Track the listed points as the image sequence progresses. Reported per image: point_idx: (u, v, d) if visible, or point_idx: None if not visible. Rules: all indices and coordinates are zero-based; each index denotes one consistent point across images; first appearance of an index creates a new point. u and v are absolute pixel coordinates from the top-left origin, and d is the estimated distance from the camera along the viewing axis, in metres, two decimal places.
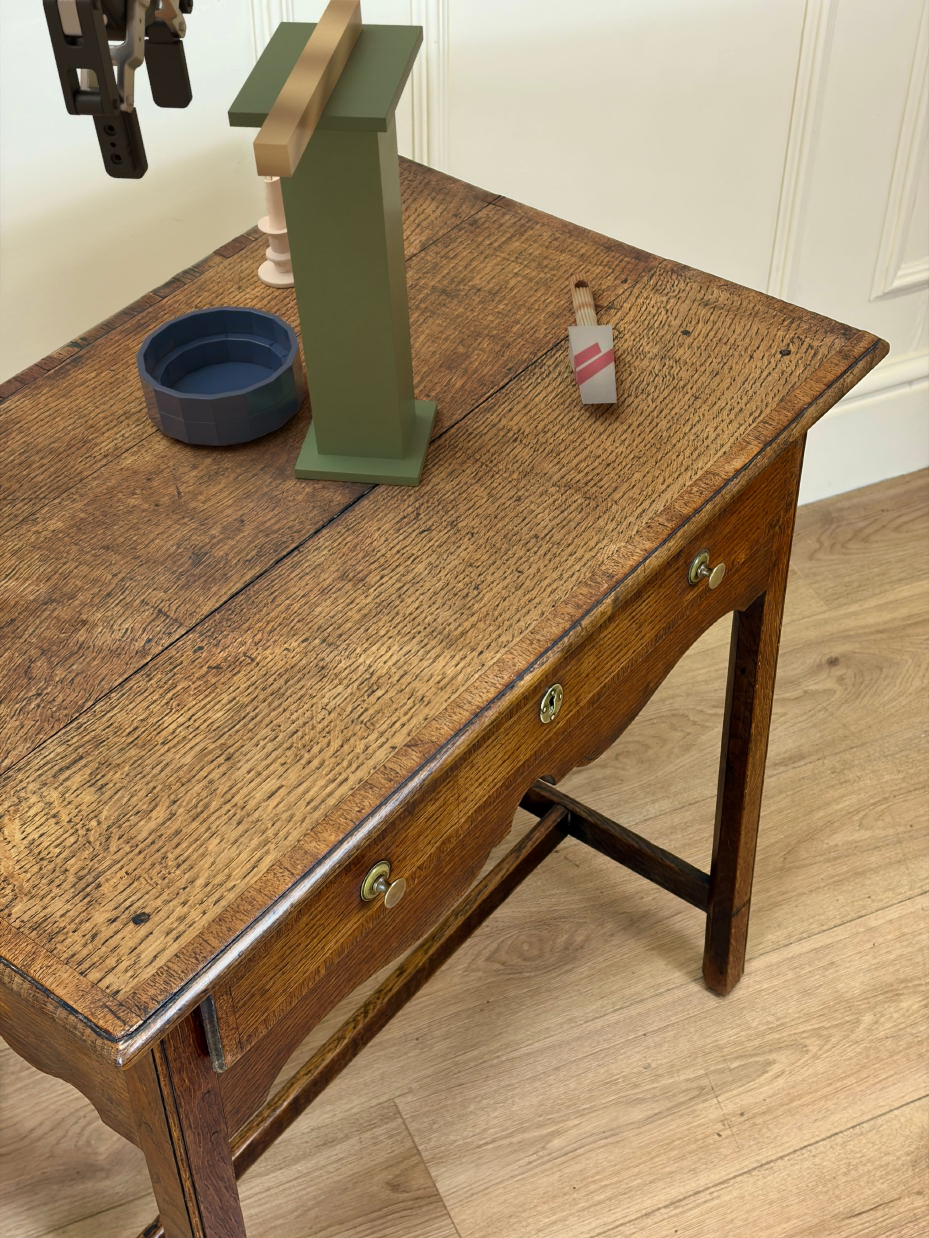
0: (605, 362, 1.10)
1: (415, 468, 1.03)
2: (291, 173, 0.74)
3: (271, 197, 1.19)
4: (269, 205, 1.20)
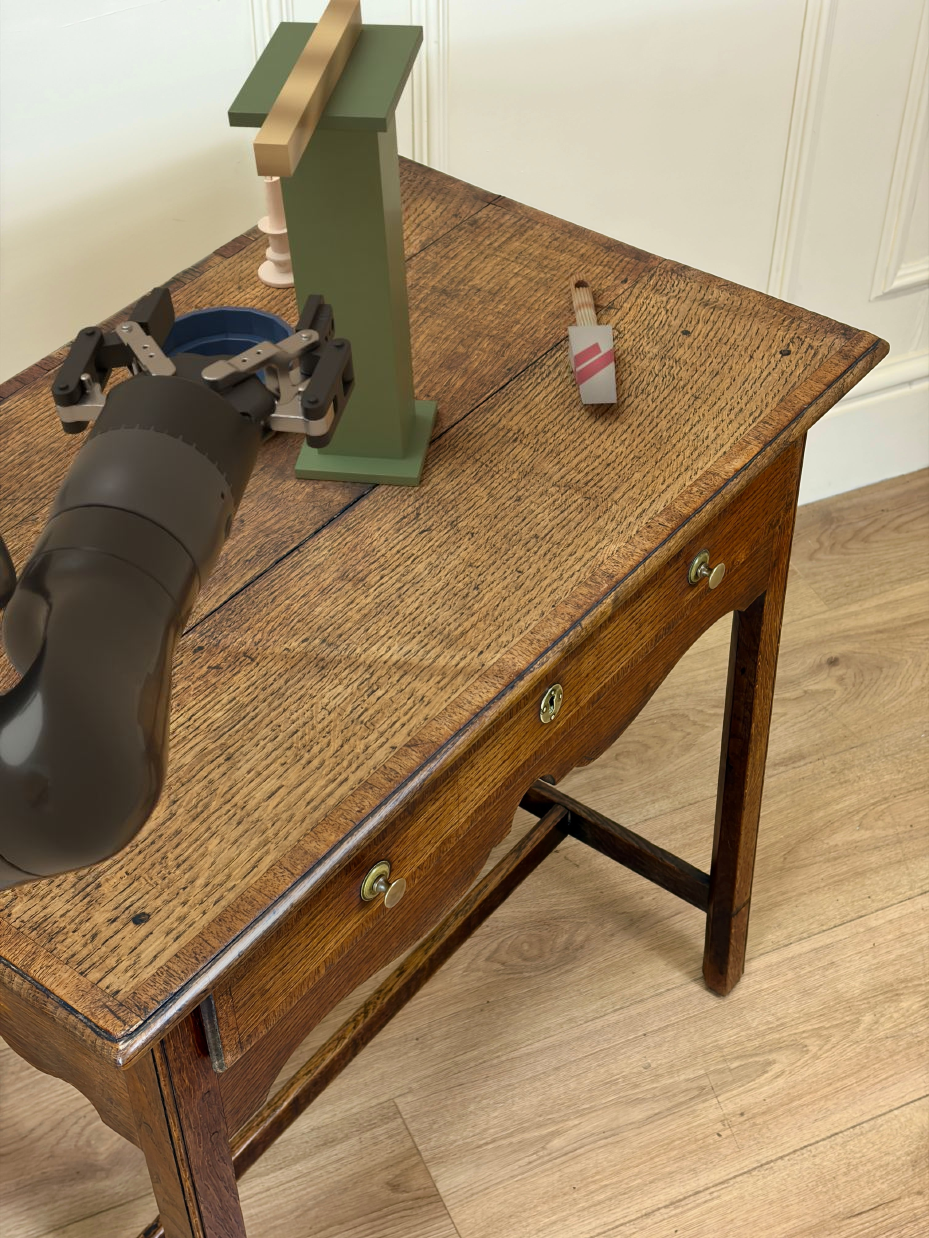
0: (605, 362, 1.10)
1: (415, 468, 1.03)
2: (291, 173, 0.74)
3: (271, 197, 1.19)
4: (269, 205, 1.20)
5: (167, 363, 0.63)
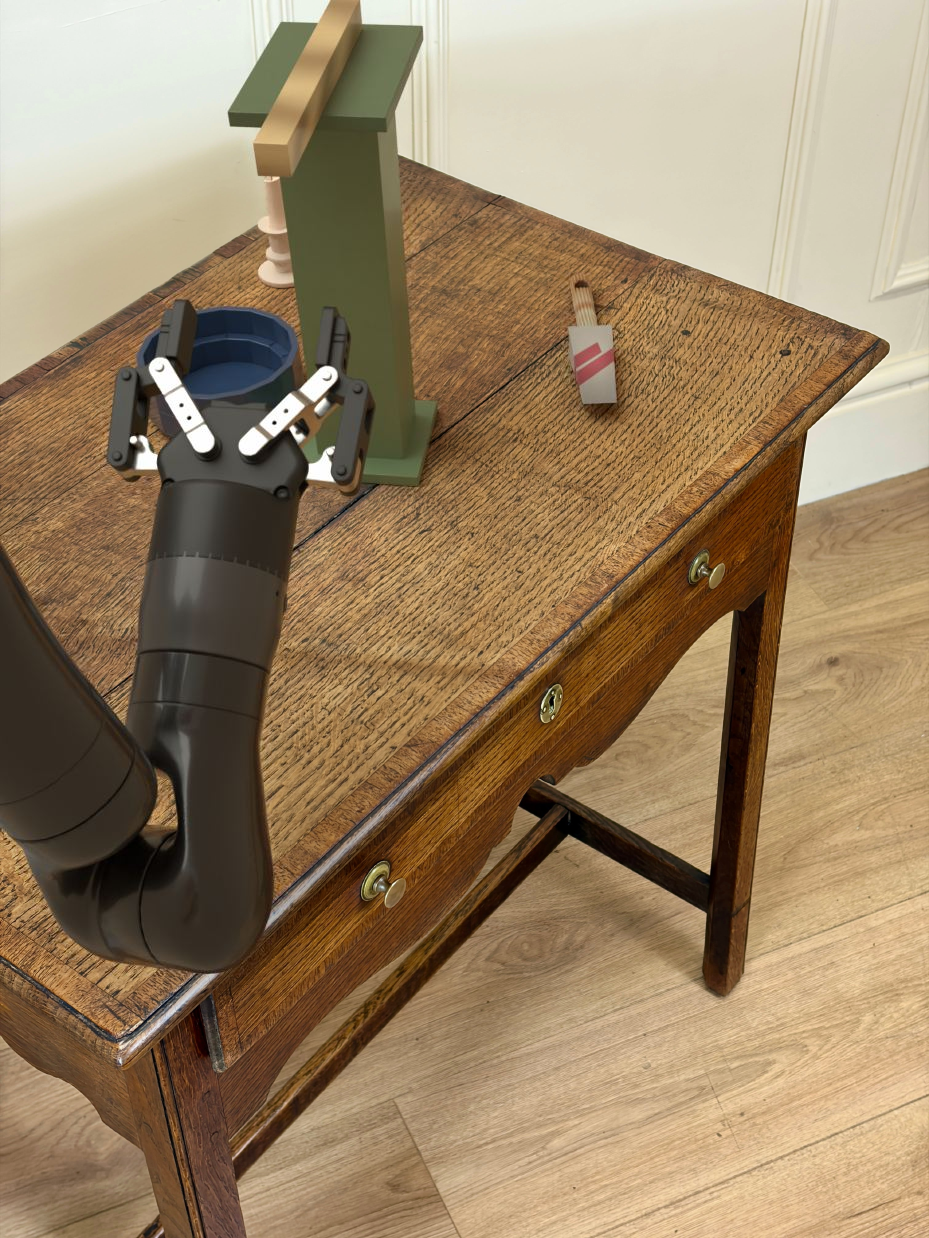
0: (605, 362, 1.10)
1: (415, 468, 1.03)
2: (291, 173, 0.74)
3: (271, 197, 1.19)
4: (269, 205, 1.20)
5: (206, 433, 0.70)
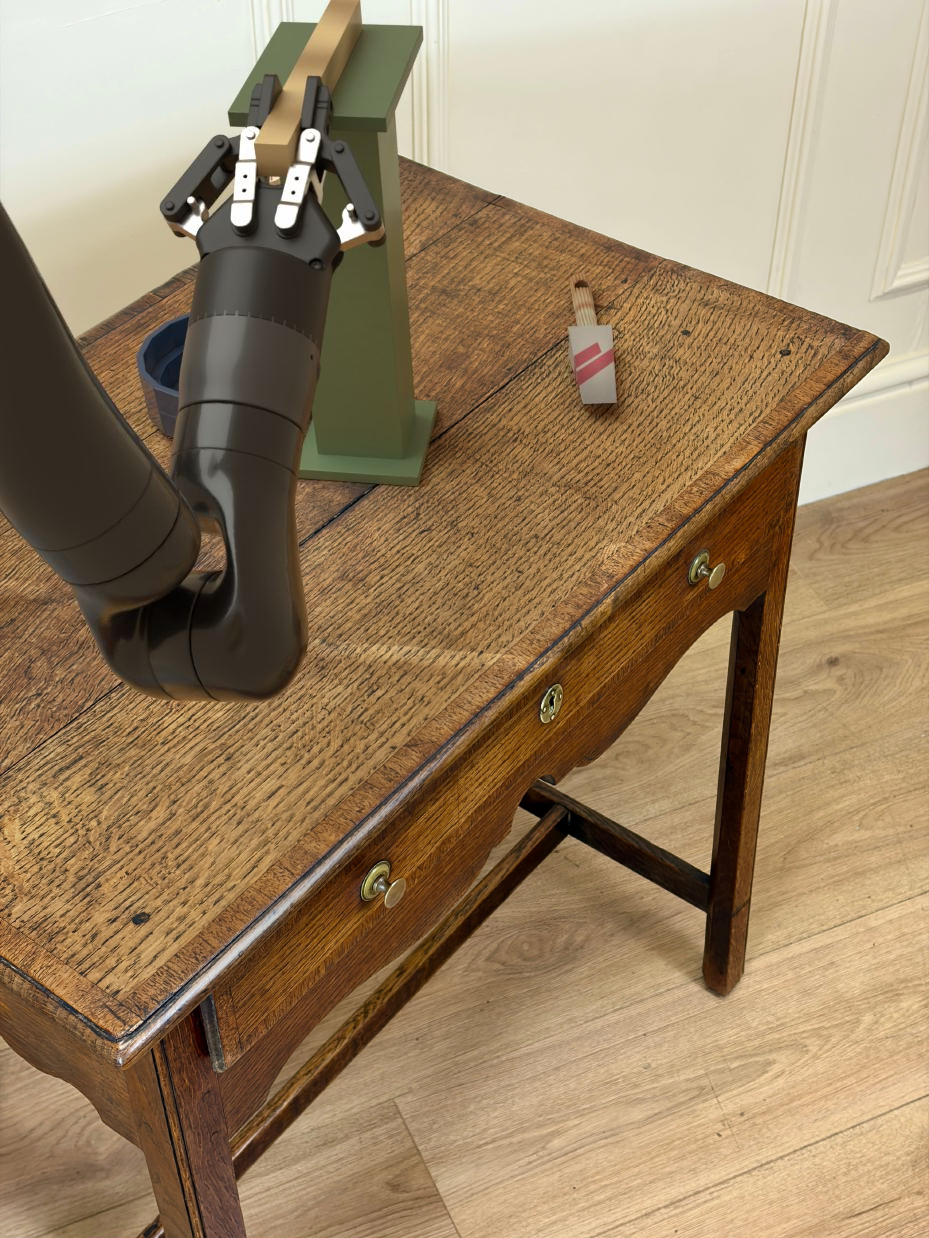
0: (605, 362, 1.10)
1: (415, 468, 1.03)
2: None
3: None
4: None
5: (248, 210, 0.73)
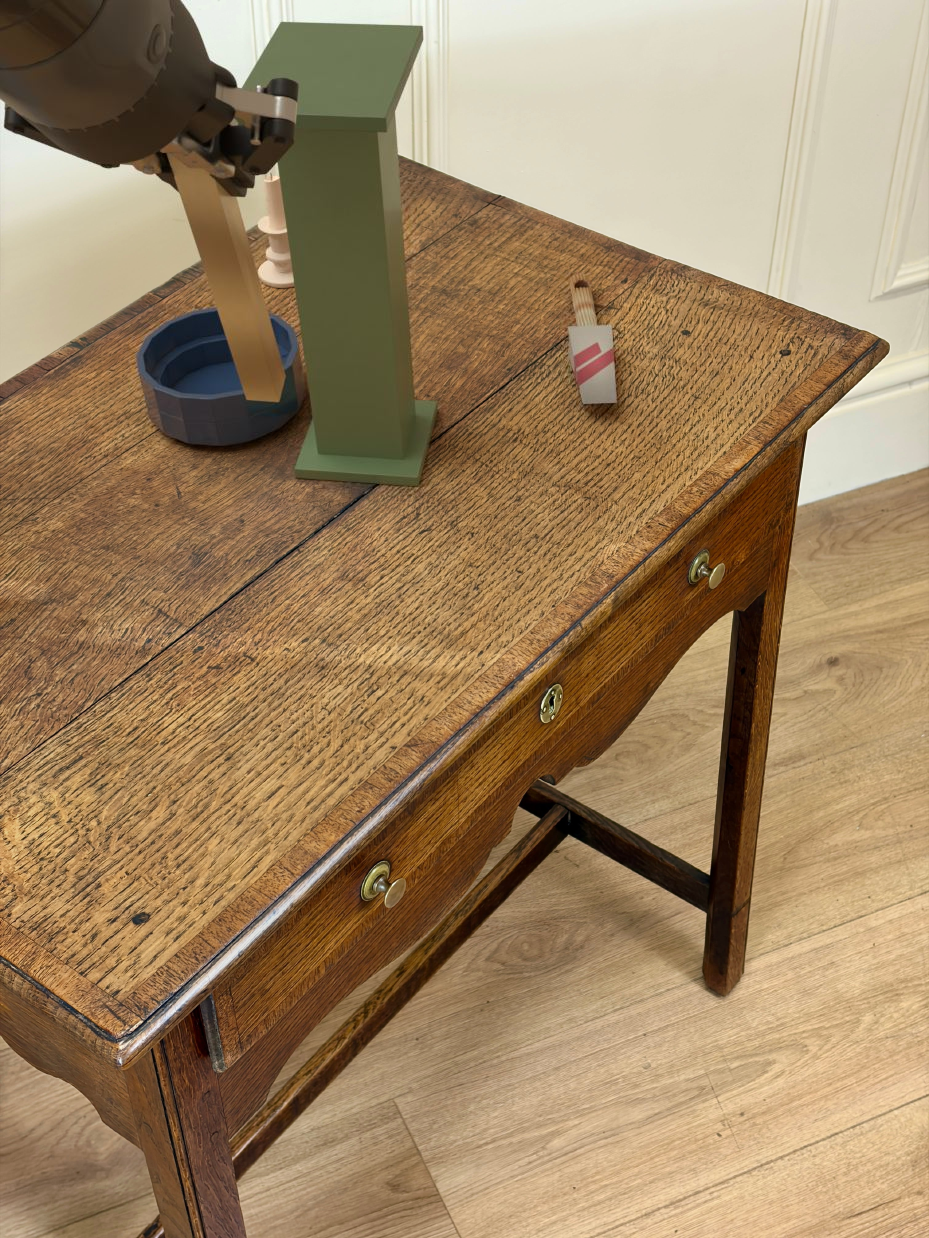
0: (605, 362, 1.10)
1: (415, 468, 1.03)
2: None
3: (271, 197, 1.19)
4: (269, 205, 1.20)
5: None
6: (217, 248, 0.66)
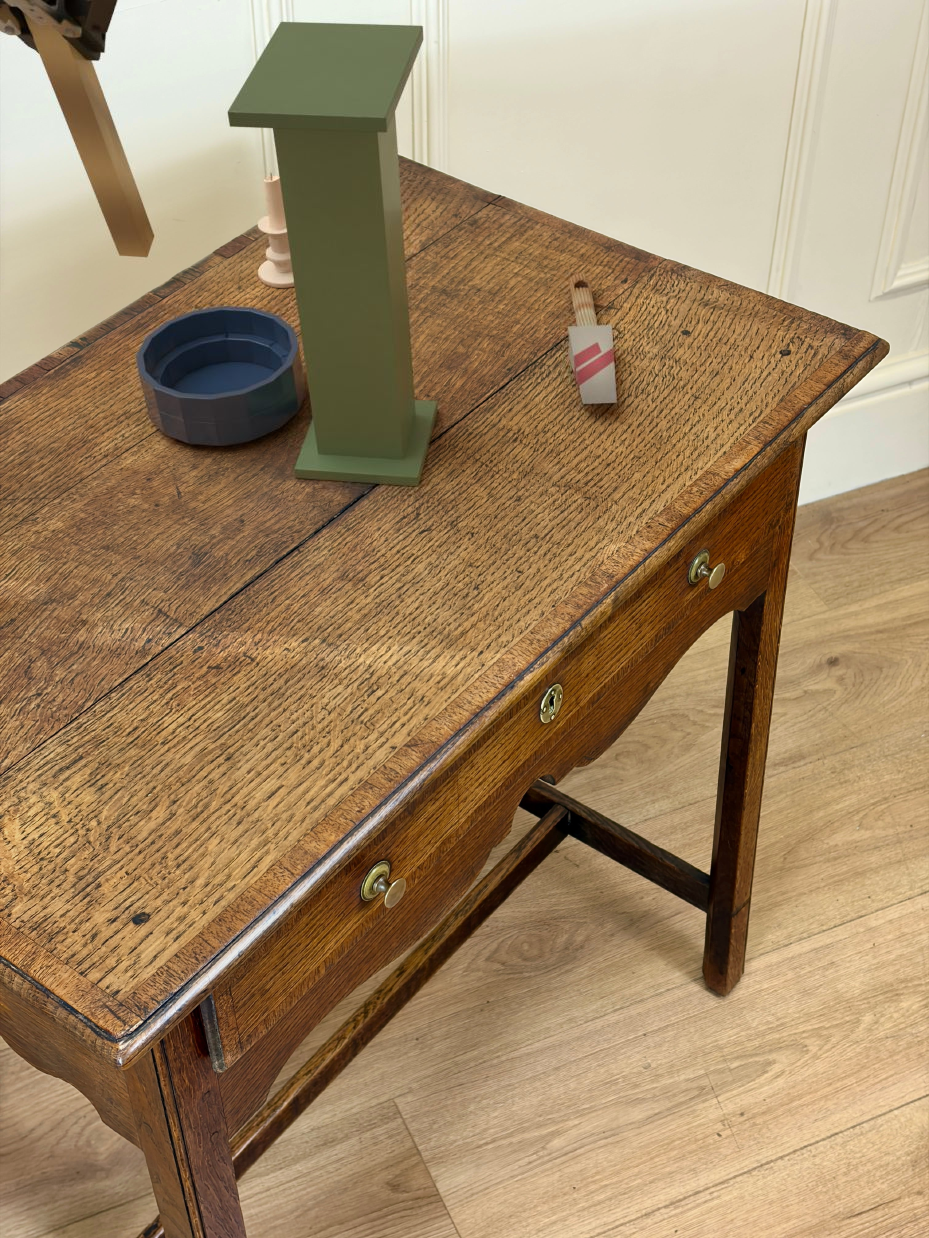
0: (605, 362, 1.10)
1: (415, 468, 1.03)
2: None
3: (271, 197, 1.19)
4: (269, 205, 1.20)
5: None
6: (77, 106, 0.77)
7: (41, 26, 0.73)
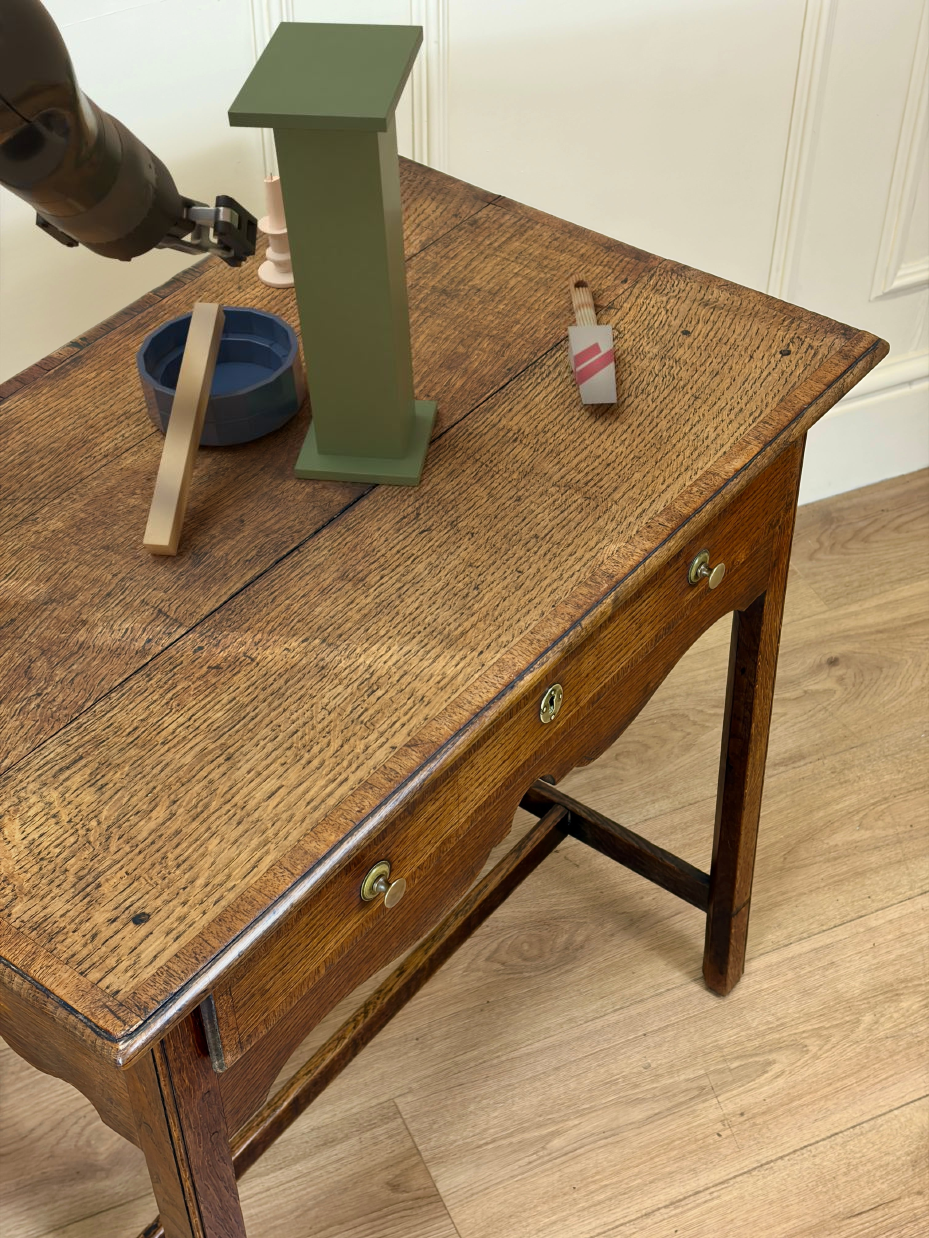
0: (605, 362, 1.10)
1: (415, 468, 1.03)
2: (175, 553, 0.98)
3: (271, 197, 1.19)
4: (269, 205, 1.20)
5: None
6: None
7: None
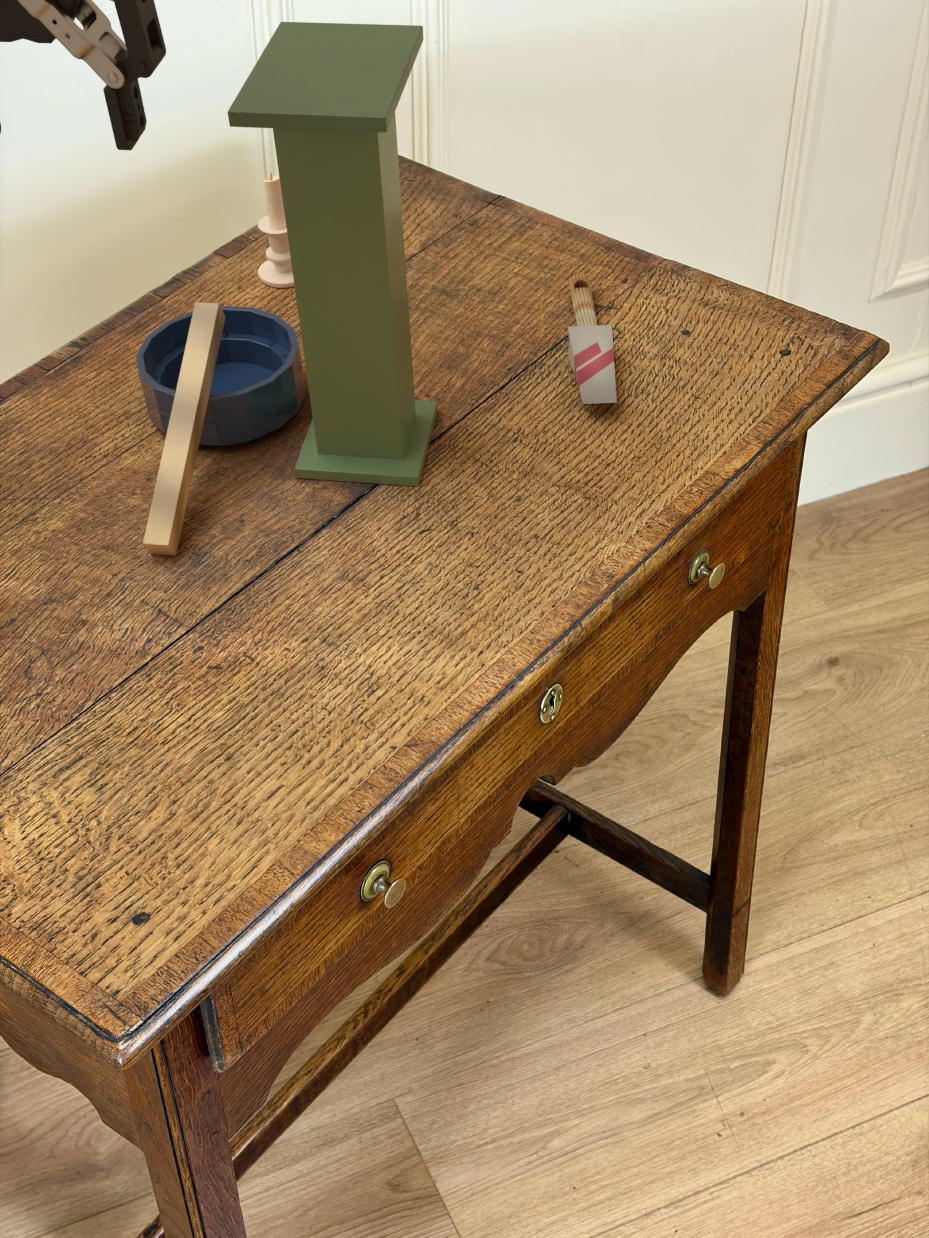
0: (605, 362, 1.10)
1: (415, 468, 1.03)
2: (175, 553, 0.98)
3: (271, 197, 1.19)
4: (269, 205, 1.20)
5: None
6: None
7: None
